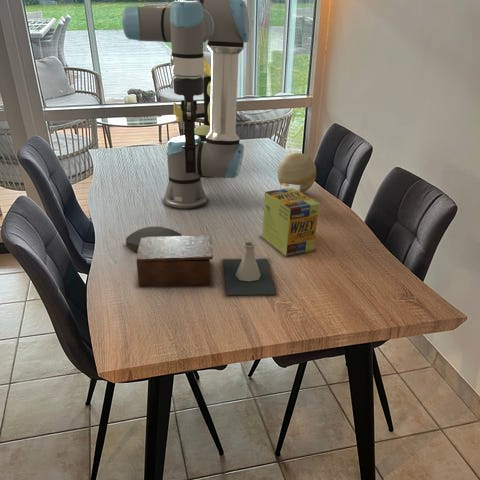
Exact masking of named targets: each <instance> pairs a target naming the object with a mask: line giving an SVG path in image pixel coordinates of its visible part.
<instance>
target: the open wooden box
mask: <svg viewBox="0 0 480 480" xmlns="http://www.w3.org/2000/svg"><path fill="white" fill-rule="evenodd" d="M210 261H211V259H205V260H174V261H142V262H137V261H136V271H137V281H138V287H139V288H144V287H146V288H148V287H151V288H152V287H209V286H211V262H210Z"/></svg>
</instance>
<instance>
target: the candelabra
mask: <svg viewBox="0 0 480 480" xmlns="http://www.w3.org/2000/svg"><path fill="white" fill-rule="evenodd" d="M203 56H204V74H203V75H202V76H203V79H204V93H203V111H196V120H197V119H202V118H203V125H198V126H196V127H194V132H195V135H196V136H199V137H200V139H201V141H204V142H206V136H207V135H208V134H209V133H210V131H211V80H212V67H211V66H210V65H211V64H210V63H209V62H208V60H207V58H206V55H205V54H204V52H203ZM173 115H175V119H176V120H175V122H177V123H178V122H184V121H183V118H182V110H181V105H179V104H177V103H176V102H173Z"/></svg>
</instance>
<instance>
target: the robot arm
mask: <svg viewBox="0 0 480 480" xmlns="http://www.w3.org/2000/svg"><path fill="white" fill-rule="evenodd" d="M121 19H122V30H123V33H124V36H125V37H126V39H128V41H129V40H130V41H135V42H153V43H171V59H172V60H170V61H169V65H170V66H172V74H173V75H174V76H173V77H172V89H173V90H172V91H173V93H174V94H175V95H177V96H183V100H181V101H180V107H181V110H182V118H183V121H182V122H184V125H183V126H184V135H179V136H176V137H172V138H171V139H170V140H168V142H167V144H166V158H167V175H168V176H167V177H168V183H167V186H166V190H165V193H164V203H165V204H166V205H167V206H168V207H170V208H174V209H179V210H191V209H196V208H200V207H202V206H204V205H205V204H206V203H207V196H206V193H205V190H204V186H203V182H202V177H211V178H223V179H235V178H236V177H238V176H239V173H240V171H241V168H242V163H243V160H244V159H243V158H244V152H245V151H244V149H245V146H244V144H242V143H240V136H238V134H237V131H236V129H237V107H238V106H237V105H238V104H237V103H238V102H237V101H238V79H239V55H240V54H241V53H242V51H243V50H244V49H245V48H244V47H245V44H246V43H248V42H249V41H250V22H249V21H250V20H249V19H250V18H249V12H248V6H247V4H246V1H244V0H173V1H171V2H169V3H168V4H164V5H150V6H138V5H135V6H133V5H131V6H126V7H125V8H124V9H123V11H122V18H121ZM206 42H207V45H206V47H207V48H208V50H209V51H210V52H211V75H212V80H211V131H210V133H209V134H208V135H207V136H206V142H204V141H201V139H200V137H199V136H196V135H195V132H194V128H195V123H196V122H197V119H196V113H197V110H198V101H197V100H194V97H195V96H201V95H204V75H203V74H204V56H203V53H204V43H206Z"/></svg>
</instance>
